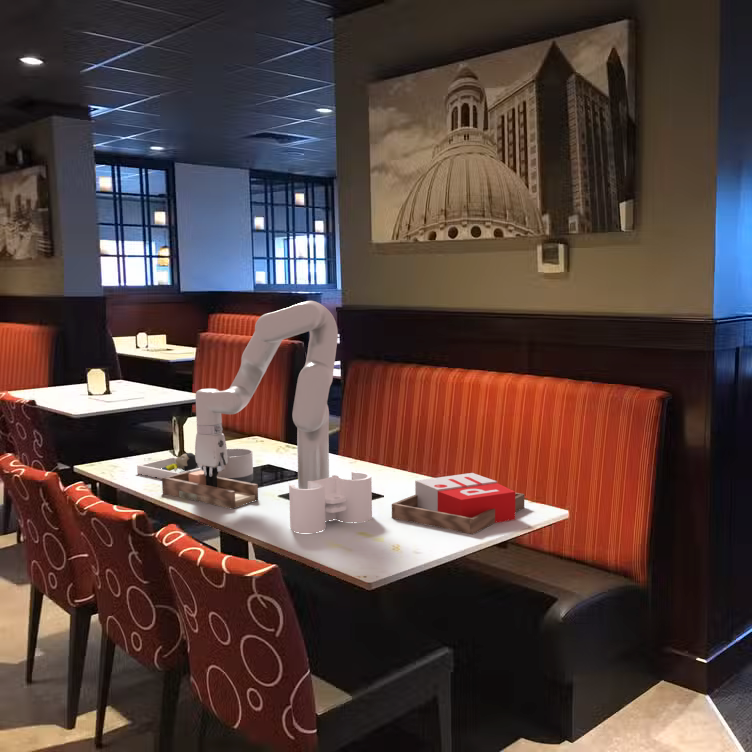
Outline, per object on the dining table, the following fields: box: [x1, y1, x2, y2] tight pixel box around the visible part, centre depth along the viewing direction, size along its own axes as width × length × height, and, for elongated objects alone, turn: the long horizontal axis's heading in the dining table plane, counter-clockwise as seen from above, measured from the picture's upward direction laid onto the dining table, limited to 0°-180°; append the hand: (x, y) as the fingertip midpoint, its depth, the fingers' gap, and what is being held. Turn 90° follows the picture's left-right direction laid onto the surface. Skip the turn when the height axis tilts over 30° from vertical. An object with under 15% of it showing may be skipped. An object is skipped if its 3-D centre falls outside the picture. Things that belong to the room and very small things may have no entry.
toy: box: [162, 452, 197, 472], centre depth 285 cm, size 9×6×15 cm
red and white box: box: [414, 472, 516, 524], centre depth 234 cm, size 24×8×20 cm
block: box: [189, 471, 206, 485], centre depth 256 cm, size 5×5×5 cm
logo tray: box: [391, 492, 525, 535], centre depth 234 cm, size 26×30×4 cm
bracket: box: [288, 470, 373, 533], centre depth 225 cm, size 25×10×12 cm, turn 130°
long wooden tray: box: [161, 471, 259, 510], centre depth 254 cm, size 31×11×5 cm, turn 54°
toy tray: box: [136, 456, 203, 480], centre depth 285 cm, size 22×16×3 cm
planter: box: [217, 448, 254, 483], centre depth 270 cm, size 13×13×10 cm
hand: (211, 487), depth 253 cm, fingers closed
